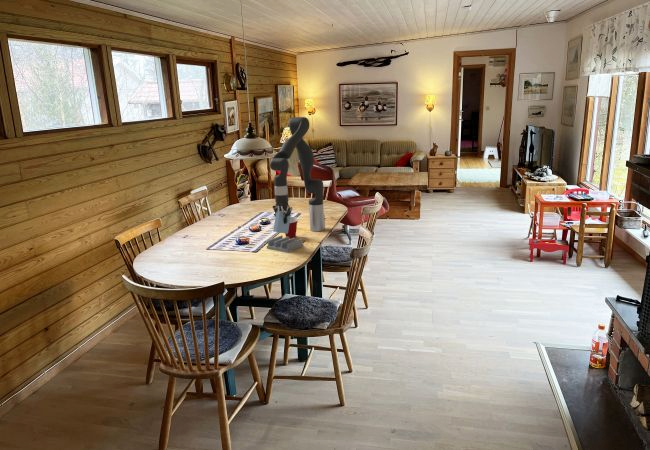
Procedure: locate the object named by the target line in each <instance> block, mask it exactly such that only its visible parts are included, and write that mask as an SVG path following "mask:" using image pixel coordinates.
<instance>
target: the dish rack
mask: <svg viewBox="0 0 650 450" xmlns="http://www.w3.org/2000/svg"><path fill="white" fill-rule="evenodd" d="M301 247H304V243H303V239H302V238H299V239H296V237H295V238H292V239H289V237H286V236H285V237H283V235H279V236H275V237H273V238H271V239H268V240H267V245H266V249H268V250H272V251H278V252H283V253H290V252H293V251H295V250H298V249H300V248H301Z"/></svg>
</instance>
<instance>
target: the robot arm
mask: <svg viewBox="0 0 650 450" xmlns="http://www.w3.org/2000/svg"><path fill="white" fill-rule="evenodd" d="M288 127H289V131H290V134H291V136H290V137H288V138H287V139H286V140H285V141H284V142H283V144H282V146H281V147H280V149H279V150H278V152H277V153H276V154H275V155H273V157H272V158H271V159H270V161H269V168H270V169H271V170H272V171H275V172H279V171H280V172H279V174H276V175H275V176H274V177H273V179H274V181H273V183H274V184H273V185H274V200H275V204H274V205H273V206H272V209H273V212H274V213H275V215H276V212H278V213H283V217H284V224H286V223H287V222H288V221H287V217H288V216H290V215H291V214H292V211H293V206H290V205H289V200H290V199H289V188H288V180H287V178H288V172H289V168H290V163H289V159H290V158H291V156H292V155H293V153H294V151H295V148H296V152H297V157H298V162H299V164H300V166H301V167H300V169H301V172H302V178H303V183H304V189H305V192H306V193H308V194H314V195H315V196H314V197H313V198H310V199H309V200H308V211H309V213H308V214H309V228H310V231H311V232H322V231H324V230H325V229H326V219H325V218H326V216H325V212H324V182H323V180H322V179H321V178H320V179H319V178H317V179H316V178H312V175H311V173H312V168H313V167H314V164H315V157H314V153H313V149H312V148H311V147H310V145H309V144H308V143H307V142H306V141H305V140H304V138H303V137H304V136H305V135H306V134H307V133H308V131H309V130H310V120H309V119H308V117H305V116H293V117H290V118H289V121H288Z"/></svg>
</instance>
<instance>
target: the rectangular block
mask: <svg viewBox="0 0 650 450" xmlns="http://www.w3.org/2000/svg"><path fill="white" fill-rule="evenodd" d="M290 217H292V216H291V214H290V216H288V217H287V221H288V222H287V223H286V224H284V217H283V213H278V212H276V214H275V219H274V225H273V229H272V231H273V232H274V233H280V234H285V233H286V234H288V230H289V223H290Z"/></svg>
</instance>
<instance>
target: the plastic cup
mask: <svg viewBox="0 0 650 450" xmlns="http://www.w3.org/2000/svg"><path fill="white" fill-rule="evenodd" d="M298 221H299V218H298V217H296V216H291V217H290V223H289V230H288V234H286V233H284V234H285V237H289V239H292V238H295V239H296V237H297V230H298V229H297V228H298Z"/></svg>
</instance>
